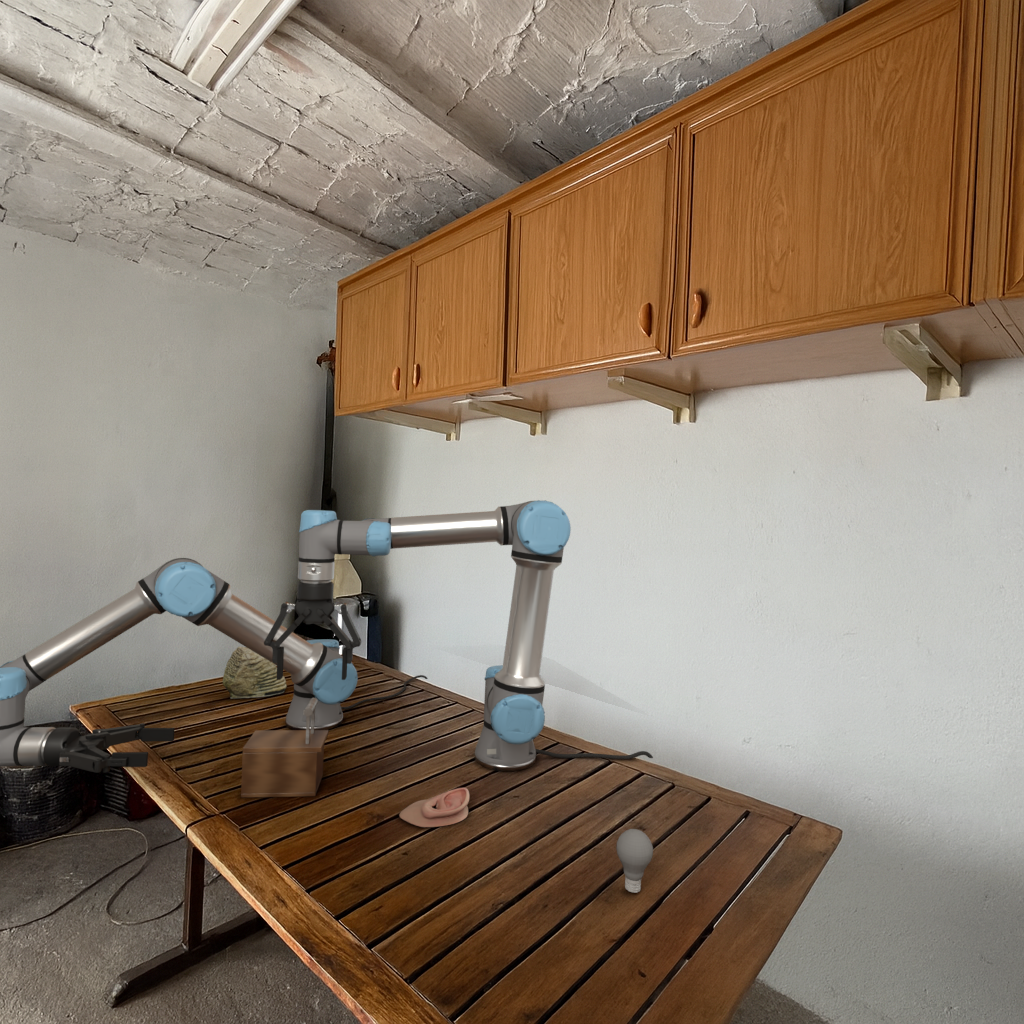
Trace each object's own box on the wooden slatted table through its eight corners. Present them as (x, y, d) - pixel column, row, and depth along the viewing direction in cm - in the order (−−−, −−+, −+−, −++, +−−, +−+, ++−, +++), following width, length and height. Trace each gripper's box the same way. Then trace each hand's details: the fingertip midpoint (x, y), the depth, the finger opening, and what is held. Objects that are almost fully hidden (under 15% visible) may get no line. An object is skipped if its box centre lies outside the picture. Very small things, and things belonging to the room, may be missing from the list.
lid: (328, 734, 144) (329, 695, 144) (321, 752, 134) (322, 710, 134) (255, 734, 142) (256, 695, 142) (242, 752, 132) (244, 710, 132)
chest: (322, 775, 144) (324, 734, 144) (315, 796, 134) (317, 752, 134) (253, 776, 142) (255, 735, 142) (240, 797, 132) (242, 753, 132)
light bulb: (610, 879, 108) (613, 822, 108) (644, 879, 109) (647, 822, 109) (619, 902, 102) (622, 840, 102) (655, 901, 103) (658, 840, 103)
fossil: (218, 695, 195) (220, 647, 195) (278, 685, 208) (279, 640, 207) (228, 703, 189) (230, 653, 188) (289, 692, 201) (290, 645, 201)
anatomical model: (393, 802, 124) (414, 778, 135) (393, 823, 124) (413, 796, 135) (459, 812, 121) (474, 786, 132) (458, 833, 121) (473, 805, 133)
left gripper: (83, 741, 144) (182, 741, 146) (12, 792, 119) (133, 790, 122) (84, 708, 143) (183, 709, 146) (13, 752, 119) (135, 752, 122)
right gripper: (251, 581, 132) (247, 682, 133) (372, 584, 136) (369, 683, 136) (260, 577, 140) (256, 672, 140) (375, 580, 143) (371, 673, 144)
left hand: (161, 746), depth 134 cm, fingers open, 13 cm apart
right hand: (312, 678), depth 138 cm, fingers open, 13 cm apart
